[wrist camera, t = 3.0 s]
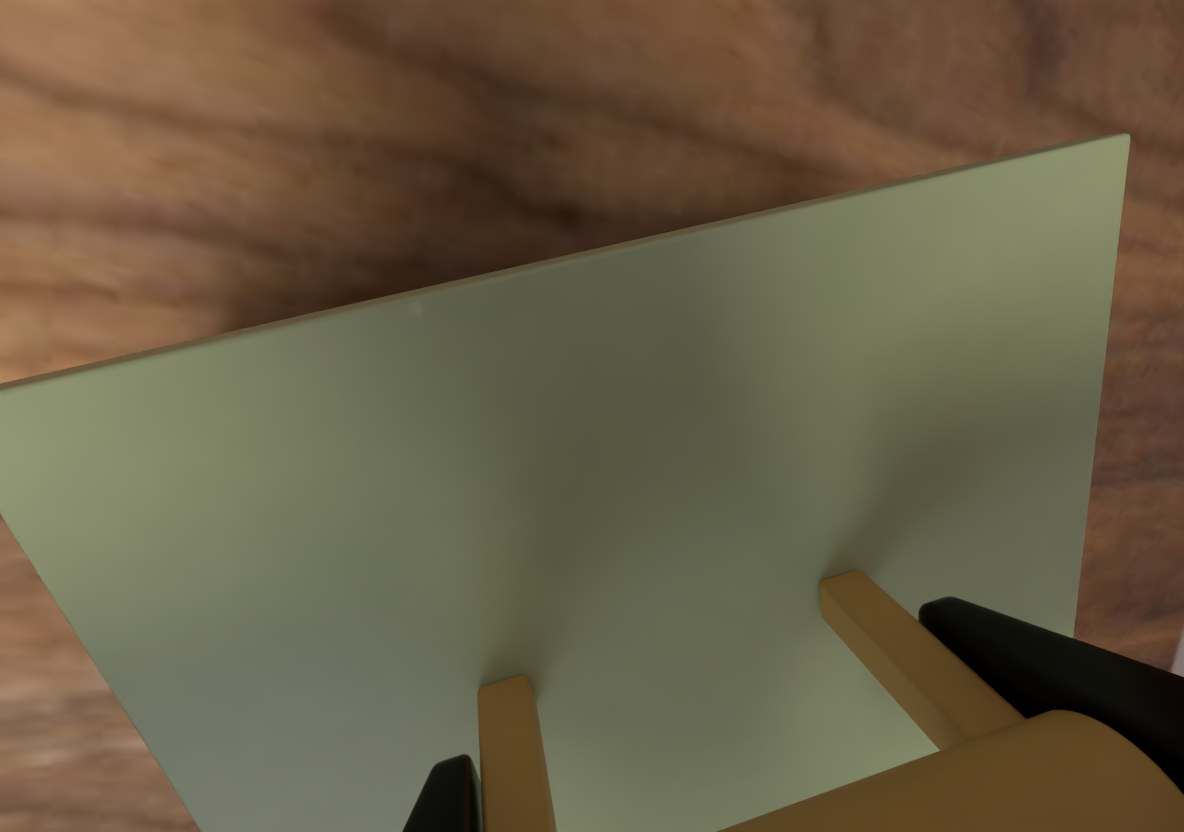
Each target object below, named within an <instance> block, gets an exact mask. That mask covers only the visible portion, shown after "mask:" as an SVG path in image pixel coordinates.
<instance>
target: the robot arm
mask: <svg viewBox="0 0 1184 832" xmlns="http://www.w3.org/2000/svg"><path fill="white" fill-rule="evenodd" d="M918 622H920V623H921V624H922V625H923V626H924V627H925V628H926V629H927V630H928V631H930V632H931V633H932V634H933V635H934V636H935V637H936V638H937V639H938V640H940V641H941V642H942V643H943V644H944V645H945V646H946V647H947V648H948V649H950V650H951V651H952V652H953V653H954V654H955V655H956V656H957V657H958V658H960V659H961V660H962V661H963V662H964V663H965V664H966V665H967V666H968V667H970V668H971V669H972V670H973V671H974V672H975V673H976V674H977V675H978V676H979V677H981V678H982V679H983V680H984V681H985V682H986V683H987V684H988V685H989V686H991V687H992V688H993V689H994V690H995V691H996V692H997V693H998V694H999V695H1001V696H1002V697H1003V698H1004V699H1005V700H1006V701H1007V702H1008V703H1009V704H1011V705H1012V706H1013V707H1014V708H1015V709H1016V710H1017V711H1018V712H1019V713H1021V714H1022V715H1023V716H1024V717H1025V718H1026V719H1029V718H1031V717H1034V716H1037V715H1040V714H1042V713H1045V712H1048V711H1051V710H1066V711H1074V712H1077V713H1081V714H1084V715H1086V716H1089V717H1091V718H1094V719H1096V720H1098V721H1100V722H1101V723H1103V724H1105V725H1107V726H1109V727H1110V728H1112V729H1113V730H1115V731H1116V732H1118V733H1119V734H1121V735H1122V736H1123V737H1125V738H1126V739H1128V740H1129V741H1130V742H1132V743H1133V744H1134V745H1135V746H1136V747H1138V748H1139V749H1140V750H1141V751H1142V752H1143V753H1145V754H1146V755H1147V756H1148V757H1149V758H1150V759H1151V760H1152V761H1153V762H1154V763H1155V764H1156V765H1157V766H1158V767H1159V768H1160V769H1161V770H1162V771H1163V772H1164V773H1165V774H1166V775H1167V776H1168V777H1169V778H1170V779H1171V780H1172V781H1173V782H1174V784H1175V785H1176V786H1177V787H1178V788H1179V790H1180V791H1181V792H1182V793H1183V794H1184V677H1182V676H1179V675H1176V674H1173V673H1170V672H1167V671H1165V670H1162V669H1159V668H1156V667H1153V666H1150V665H1147V664H1145V663H1142V662H1139V661H1136V660H1133V659H1130V658H1127V657H1125V656H1122V655H1119V654H1116V653H1113V652H1110V651H1108V650H1105V649H1102V648H1099V647H1096V646H1093V645H1090V644H1088V643H1085V642H1082V641H1079V640H1076V639H1073V638H1071V637H1068V636H1065V635H1062V634H1059V633H1056V632H1053V631H1051V630H1048V629H1045V628H1042V627H1039V626H1036V625H1033V624H1031V623H1028V622H1025V621H1022V620H1019V619H1016V618H1014V617H1011V616H1008V615H1005V614H1002V613H999V612H996V611H994V610H991V609H988V608H985V607H982V606H979V605H976V604H974V603H971V602H968V601H965V600H962V599H959V598H956V597H951V596H948V597H943V598H940V599H937V600H933V601H930V602H927V603H924V604H923V605H921V607H920V609H919V613H918ZM402 832H483V821H482V798H481V782H480V779H479V777H478V774H477V771H476V769H475V766H474V763H473V761H472V759H471V757H470V756H469V755H467V754H462V755H458V756H455V757H452V758H449V759H446V760H443V761H440V762H438V763H436V764H435V765H434V766H433V768H432V769H431V771H430V773H429V776H428V778H427V780H426V782H425V784H424V786H423V788H422V790H421V792H420V795H419V797H418V799H417V801H416V803H415V805H414V807H413V809H412V812H411V814H410V816H409V818H408V820H407V822H406V824H405V826H404V829H403V831H402Z"/></svg>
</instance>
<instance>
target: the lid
mask: <svg viewBox="0 0 1184 832" xmlns="http://www.w3.org/2000/svg"><path fill="white" fill-rule="evenodd" d="M1129 145H1130V135H1129V134H1126V133H1119V134H1109V135H1100V136H1091V137H1085V138H1081V139H1076V140H1072V141H1067V142H1063V143H1059V144H1054V145H1050V146H1045V147H1041V148H1037V149H1032V150H1028V151H1023V152H1019V153H1015V154H1010V155H1006V156H1001V157H997V158H993V159H988V160H984V161H979V162H975V163H971V164H966V165H962V166H957V167H953V168H949V169H944V170H940V171H935V172H931V173H926V174H922V175H918V176H913V177H909V178H904V179H900V180H896V181H891V182H887V183H882V184H878V185H874V186H869V187H865V188H860V189H856V190H852V191H847V192H843V193H838V194H834V195H830V196H825V197H821V198H816V199H812V200H808V201H803V202H799V203H794V204H790V205H786V206H781V207H777V208H772V209H768V210H764V211H759V212H755V213H750V214H746V215H742V216H737V217H733V218H728V219H724V220H719V221H715V222H711V223H706V224H702V225H697V226H693V227H689V228H684V229H680V230H675V231H671V232H667V233H662V234H658V235H653V236H649V237H645V238H640V239H636V240H631V241H627V242H623V243H618V244H614V245H609V246H605V247H601V248H596V249H592V250H587V251H583V252H579V253H574V254H570V255H565V256H561V257H557V258H552V259H548V260H543V261H539V262H534V263H530V264H526V265H521V266H517V267H512V268H508V269H504V270H499V271H495V272H490V273H486V274H482V275H477V276H473V277H468V278H464V279H460V280H455V281H451V282H446V283H442V284H438V285H433V286H429V287H424V288H420V289H416V290H411V291H407V292H402V293H398V294H394V295H389V296H385V297H380V298H376V299H372V300H367V301H363V302H358V303H354V304H349V305H345V306H341V307H336V308H332V309H327V310H323V311H319V312H314V313H310V314H305V315H301V316H297V317H292V318H288V319H283V320H279V321H275V322H270V323H266V324H261V325H257V326H253V327H248V328H244V329H239V330H235V331H231V332H226V333H222V334H217V335H213V336H209V337H204V338H200V339H195V340H191V341H187V342H182V343H178V344H173V345H169V346H164V347H160V348H156V349H151V350H147V351H142V352H138V353H134V354H129V355H125V356H120V357H116V358H112V359H107V360H103V361H98V362H94V363H90V364H85V365H81V366H76V367H72V368H68V369H63V370H59V371H54V372H50V373H46V374H41V375H37V376H32V377H28V378H24V379H19V380H15V381H10V382H6V383H2V384H0V514H1V516H2V518H3V519H4V521H5V522H6V524H7V525H8V527H9V529H10V530H11V532H12V533H13V535H14V537H15V538H16V540H17V541H18V543H19V544H20V546H21V548H22V549H23V551H24V552H25V554H26V556H27V557H28V559H29V560H30V562H31V563H32V565H33V567H34V568H35V570H36V571H37V573H38V575H39V576H40V578H41V579H42V581H43V582H44V584H45V586H46V587H47V589H48V590H49V592H50V594H51V595H52V597H53V598H54V600H55V601H56V603H57V605H58V606H59V608H60V609H61V611H62V612H63V614H64V616H65V617H66V619H67V620H68V622H69V624H70V625H71V627H72V628H73V630H74V631H75V633H76V635H77V636H78V638H79V639H80V641H81V643H82V644H83V646H84V647H85V649H86V650H87V652H88V654H89V655H90V657H91V658H92V660H93V662H94V663H95V665H96V666H97V668H98V669H99V671H100V673H101V674H102V676H103V677H104V679H105V681H106V682H107V684H108V685H109V687H110V688H111V690H112V692H113V693H114V695H115V696H116V698H117V699H118V701H119V703H120V704H121V706H122V707H123V709H124V711H125V712H126V714H127V715H128V717H129V718H130V720H131V722H132V723H133V725H134V726H135V728H136V730H137V731H138V733H139V734H140V736H141V737H142V739H143V741H144V742H145V744H146V745H147V747H148V749H149V750H150V752H151V753H152V755H153V756H154V758H155V760H156V761H157V763H158V764H159V766H160V768H161V769H162V771H163V772H164V774H165V775H166V777H167V779H168V780H169V782H170V783H171V785H172V787H173V788H174V790H175V791H176V793H177V794H178V796H179V798H180V799H181V801H182V802H183V804H184V805H185V807H186V809H187V810H188V812H189V813H190V815H191V817H192V818H193V820H194V821H195V823H196V824H197V826H198V828H199V829H200V831H201V832H402V831H403V829H404V826H405V824H406V822H407V820H408V818H409V816H410V814H411V812H412V809H413V807H414V805H415V803H416V801H417V799H418V797H419V795H420V792H421V790H422V788H423V786H424V784H425V782H426V780H427V778H428V776H429V773H430V771H431V769H432V768H433V766H434V765H435V764H436V763H438V762H440V761H443V760H446V759H449V758H452V757H455V756H458V755H462V754H467V755H469V756H470V757H471V759H472V761H473V763H474V766H475V769H476V771H477V774H478V777H479V779H480V782H481V798H482V821H483V832H1184V794H1183V793H1182V792H1181V791H1180V790H1179V788H1178V787H1177V786H1176V785H1175V784H1174V782H1173V781H1172V780H1171V779H1170V778H1169V777H1168V776H1167V775H1166V774H1165V773H1164V772H1163V771H1162V770H1161V769H1160V768H1159V767H1158V766H1157V765H1156V764H1155V763H1154V762H1153V761H1152V760H1151V759H1150V758H1149V757H1148V756H1147V755H1146V754H1145V753H1143V752H1142V751H1141V750H1140V749H1139V748H1138V747H1136V746H1135V745H1134V744H1133V743H1132V742H1130V741H1129V740H1128V739H1126V738H1125V737H1123V736H1122V735H1121V734H1119V733H1118V732H1116V731H1115V730H1113V729H1112V728H1110V727H1109V726H1107V725H1105V724H1103V723H1101V722H1100V721H1098V720H1096V719H1094V718H1091V717H1089V716H1086V715H1084V714H1081V713H1077V712H1074V711H1066V710H1051V711H1048V712H1045V713H1042V714H1040V715H1037V716H1034V717H1031V718H1029V719H1026V718H1025V717H1024V716H1023V715H1022V714H1021V713H1019V712H1018V711H1017V710H1016V709H1015V708H1014V707H1013V706H1012V705H1011V704H1009V703H1008V702H1007V701H1006V700H1005V699H1004V698H1003V697H1002V696H1001V695H999V694H998V693H997V692H996V691H995V690H994V689H993V688H992V687H991V686H989V685H988V684H987V683H986V682H985V681H984V680H983V679H982V678H981V677H979V676H978V675H977V674H976V673H975V672H974V671H973V670H972V669H971V668H970V667H968V666H967V665H966V664H965V663H964V662H963V661H962V660H961V659H960V658H958V657H957V656H956V655H955V654H954V653H953V652H952V651H951V650H950V649H948V648H947V647H946V646H945V645H944V644H943V643H942V642H941V641H940V640H938V639H937V638H936V637H935V636H934V635H933V634H932V633H931V632H930V631H928V630H927V629H926V628H925V627H924V626H923V625H922V624H921V623H920V622H918V613H919V609H920V607H921V605H923V604H924V603H927V602H930V601H933V600H937V599H940V598H943V597H948V596H951V597H956V598H959V599H962V600H965V601H968V602H971V603H974V604H976V605H979V606H982V607H985V608H988V609H991V610H994V611H996V612H999V613H1002V614H1005V615H1008V616H1011V617H1014V618H1016V619H1019V620H1022V621H1025V622H1028V623H1031V624H1033V625H1036V626H1039V627H1042V628H1045V629H1048V630H1051V631H1053V632H1056V633H1059V634H1062V635H1065V636H1068V637H1071V638H1073V633H1074V624H1075V616H1076V607H1077V598H1078V590H1079V581H1080V572H1081V563H1082V555H1083V546H1084V537H1085V529H1086V520H1087V511H1088V502H1089V494H1090V485H1091V476H1092V468H1093V459H1094V450H1095V441H1096V433H1097V424H1098V415H1099V407H1100V398H1101V389H1102V380H1103V372H1104V363H1105V354H1106V346H1107V337H1108V328H1109V319H1110V311H1111V302H1112V293H1113V285H1114V276H1115V267H1116V258H1117V250H1118V241H1119V232H1120V224H1121V215H1122V206H1123V197H1124V189H1125V180H1126V171H1127V163H1128V154H1129Z"/></svg>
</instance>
